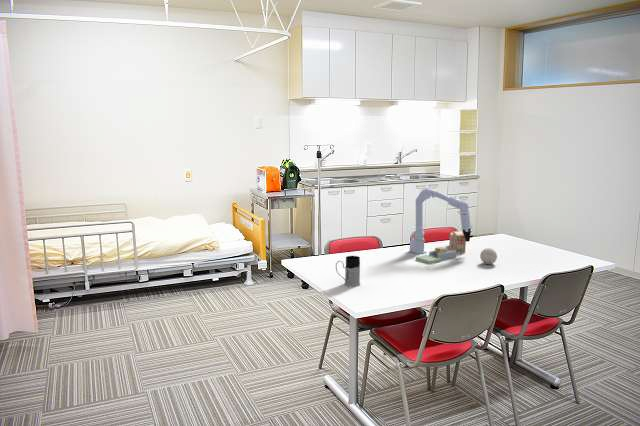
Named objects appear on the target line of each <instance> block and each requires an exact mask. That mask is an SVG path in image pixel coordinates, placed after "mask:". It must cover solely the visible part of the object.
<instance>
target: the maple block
mask: <svg viewBox="0 0 640 426" xmlns="http://www.w3.org/2000/svg"><path fill="white" fill-rule="evenodd" d="M434 251H435V255H436V256H438V254H440V253H445V252H446V247H443V246H437V247H434Z"/></svg>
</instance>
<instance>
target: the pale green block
mask: <svg viewBox="0 0 640 426" xmlns="http://www.w3.org/2000/svg"><path fill="white" fill-rule="evenodd" d="M445 248H446V247H445ZM454 258H457V252H456V250H455V251H454V250H452V251H449V248H446V252H445V253H440V254H438V256H436V255H435V250H432V251H429V252H428V254H425V255H424V254H423V255H418V256H416V257H415V260H416V261H418V262H420V263H421V262H422V263H425V264H428V265H433V264H438V263H441V262H442V261H446V260H449V259H454Z"/></svg>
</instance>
